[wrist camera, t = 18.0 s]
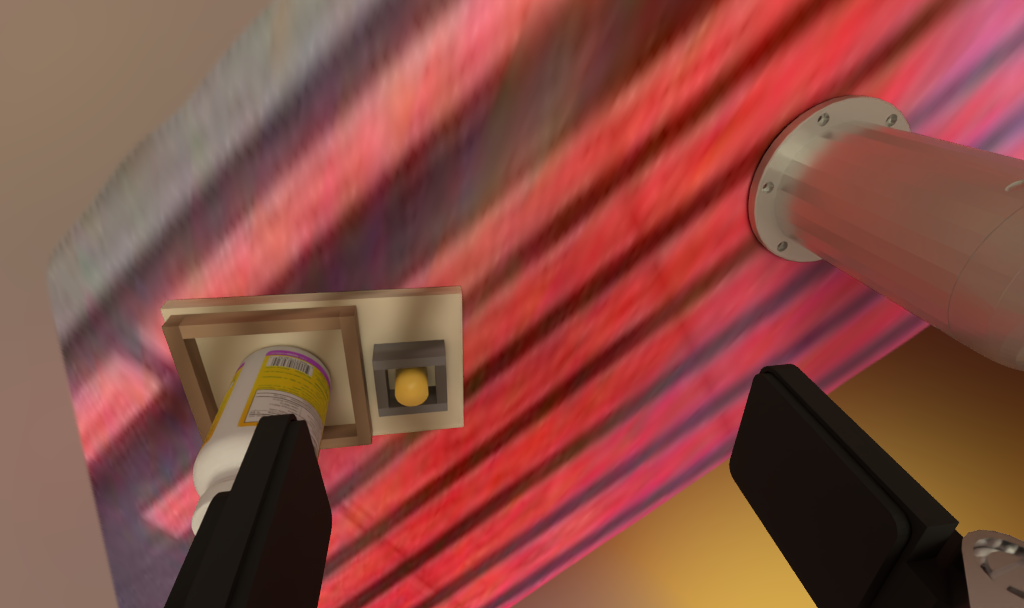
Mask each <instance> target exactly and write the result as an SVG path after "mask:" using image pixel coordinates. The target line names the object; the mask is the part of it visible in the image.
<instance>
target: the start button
mask: <svg viewBox="0 0 1024 608" xmlns="http://www.w3.org/2000/svg"><path fill="white" fill-rule="evenodd" d="M395 397H396V400H397V401H398V402H399V403H400V404H402V405H405V406H417V405H420V404H422V403H423V402H424V401H425V400H426V399H427V397H428V376H427V368H426V367H414V368H400V369H396V377H395Z"/></svg>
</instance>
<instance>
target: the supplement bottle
mask: <svg viewBox="0 0 1024 608" xmlns="http://www.w3.org/2000/svg"><path fill="white" fill-rule="evenodd" d="M330 391H331V379H330V375H329V372H328V370H327V368H326V367H325V366H324V364H323V363H322V362H321V361H320V360H319V359H318V358H316V357H315V356H314V355H312V354H311V353H309V352H307V351H305V350H302V349H299V348H295V347H290V346H272V347H267V348H263V349H261V350H258V351H256V352H254V353H252V354H251V355H249V356H248V357H247V358H246V359H245V360H244V361H243V362H242V363H241V364H240V366H239V367H238V369H237V371H236V373H235V375H234V377H233V379H232V382H231V384H230V386H229V388H228V390H227V393H226V395H225V397H224V399H223V401H222V404H221V406H220V408H219V410H218V412H217V415H216V417H215V419H214V421H213V423H212V426H211V428H210V430H209V432H208V434H207V437H206V439H205V441H204V443H203V445H202V447H201V449H200V452H199V454H198V456H197V459H196V461H195V464H194V468H193V481H194V485H195V488H196V490H197V493H198V494H199V496H200V499H199V501H198V504H197V506H196V509H195V512H194V514H193V518H192V530H193V532H194V534H195V536H196V533H197V531H198V529H199V526H200V524H201V522H202V520H203V517H204V515H205V513H206V510H207V508H208V506H209V504H210V502H211V500H212V499H213V497H214V496H215V495H216V494H217V493H219V492H224V491H230V490H231V488H232V485H233V483H234V481H235V478H236V476H237V473H238V471H239V468H240V466H241V463H242V461H243V458H244V456H245V453H246V451H247V449H248V446H249V444H250V441H251V439H252V436H253V434H254V431H255V429H256V426H257V424H258V422H259V420H260V418H261V417H263V416H272V415H282V414H294V415H295V416H296V418H297V420H305V421H306V422H307V425H308V428H309V432H310V435H311V439H312V443H313V446H314V450H315V454H316V457H317V461H318V456H319V451H320V445H321V440H322V434H323V429H324V424H325V418H326V413H327V408H328V402H329V397H330Z"/></svg>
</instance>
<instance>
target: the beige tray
mask: <svg viewBox="0 0 1024 608" xmlns="http://www.w3.org/2000/svg"><path fill="white" fill-rule="evenodd" d="M160 310H161V312H162V315H163V318H164V321H165V323H164V325H163V326H162V329H163V332H164V335H165V338H166V341H167V343H168V346H169V349H170V352H171V355H172V357H173V360H174V363H175V366H176V368H177V371H178V374H179V377H180V380H181V382H182V385H183V388H184V391H185V394H186V396H187V399H188V402H189V405H190V408H191V410H192V413H193V416H194V419H195V422H196V424H197V427H198V430H199V433H200V436H201V438H202V441H203V443H204V441H205V439H206V437H207V434H208V432H209V430H210V428H211V426H212V423H213V421H214V419H215V417H216V415H217V412H218V410H219V408H220V406H221V404H222V401H223V399H224V397H225V395H226V393H227V390H228V388H229V386H230V384H231V382H232V379H233V377H234V375H235V373H236V371H237V369H238V367H239V366H240V364H241V363H242V362H243V361H244V360H245V359H246V358H247V357H248V356H249V355H251V354H252V353H254V352H256V351H258V350H261V349H263V348H267V347H272V346H290V347H295V348H299V349H302V350H305V351H307V352H309V353H311V354H312V355H314V356H315V357H316V358H318V359H319V360H320V361H321V362H322V363H323V364H324V366H325V367H326V368H327V370H328V372H329V375H330V379H331V391H330V397H329V402H328V408H327V413H326V418H325V424H324V429H323V434H322V440H321V445H320V449H329V448H339V447H349V446H360V445H370V444H372V436H374V435H385V434H395V433H406V432H416V431H426V430H437V429H447V428H458V427H464V416H463V341H462V292H461V286H450V287H429V288H409V289H388V290H368V291H347V292H327V293H306V294H286V295H265V296H245V297H224V298H204V299H184V300H167V302H166V303H165V304H164V305H163V306H162V308H161V309H160ZM414 367H426V368H427V376H428V397H427V399H426V400H425V401H424V402H423V403H422V404H420V405H417V406H405V405H402V404H400V403H399V402H398V401H397V400H396V397H395V377H396V369H400V368H414Z"/></svg>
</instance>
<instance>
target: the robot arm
mask: <svg viewBox="0 0 1024 608" xmlns="http://www.w3.org/2000/svg"><path fill="white" fill-rule="evenodd" d="M748 208H749V219H750V223H751V227H752V230H753V232H754V234H755V236H756V237H757V239H758V241H759V242H760V243H761V244H762V245H763V246H764V247H765V248H766V249H768V250H769V251H771V252H772V253H773V254H775V255H777V256H779V257H781V258H783V259H786V260H789V261H795V262H814V261H818V260H825V261H827V262H828V263H830V264H832V265H833V266H835V267H837V268H838V269H840V270H842V271H843V272H845V273H847V274H848V275H850V276H852V277H853V278H855V279H857V280H858V281H860V282H861V283H863V284H865V285H866V286H868V287H870V288H871V289H873V290H875V291H876V292H878V293H880V294H881V295H883V296H885V297H886V298H888V299H890V300H891V301H893V302H894V303H896V304H898V305H899V306H901V307H903V308H904V309H906V310H908V311H909V312H911V313H913V314H914V315H916V316H918V317H919V318H921V319H923V320H924V321H926V322H927V323H929V324H931V325H933V326H934V327H936V328H937V329H939V330H941V331H943V332H944V333H946V334H947V335H949V336H951V337H952V338H954V339H956V340H957V341H959V342H960V343H962V344H964V345H966V346H968V347H969V348H971V349H973V350H974V351H976V352H978V353H980V354H981V355H983V356H985V357H987V358H989V359H991V360H993V361H995V362H997V363H999V364H1002V365H1005V366H1007V367H1010V368H1014V369H1018V370H1022V371H1024V160H1021V159H1017V158H1013V157H1009V156H1005V155H1000V154H996V153H992V152H988V151H984V150H980V149H976V148H972V147H968V146H964V145H960V144H956V143H952V142H948V141H944V140H940V139H936V138H932V137H928V136H924V135H920V134H916V133H912V132H911V131H910V127H909V124H908V122H907V120H906V119H905V117H904V116H903V114H902V113H901V112H900V111H899V110H898V109H897V108H896V107H895V106H893V105H892V104H891V103H888V102H886V101H884V100H881V99H879V98H874V97H869V96H864V95H848V96H843V97H838V98H833V99H831V100H828V101H826V102H823V103H821V104H818V105H816V106H815V107H813V108H811V109H810V110H808V111H806V112H805V113H803V114H801V115H800V116H799V117H798V118H797V119H795V120H794V121H793V122H792V123H791V124H789V125H788V126H787V127H786V128H785V129H784V130H783V131H782V133H781V134H780V135H779V136H778V137H777V138H776V139H775V140H774V142H773V143H772V144H771V146H770V147H769V149H768V150H767V152H766V153H765V155H764V156H763V158H762V160H761V162H760V164H759V166H758V168H757V170H756V172H755V176H754V179H753V182H752V185H751V188H750V195H749V202H748ZM729 466H730V472H731V475H732V477H733V479H734V481H735V482H736V484H737V485H738V487H739V488H740V490H741V491H742V493H743V495H744V496H745V498H746V499H747V501H748V502H749V504H750V505H751V507H752V508H753V510H754V511H755V513H756V514H757V516H758V517H759V519H760V520H761V522H762V523H763V525H764V527H765V528H766V530H767V531H768V533H769V534H770V536H771V537H772V539H773V540H774V542H775V543H776V545H777V546H778V548H779V549H780V551H781V552H782V554H783V555H784V557H785V559H786V560H787V561H788V563H789V565H790V566H791V568H792V569H793V571H794V572H795V574H796V575H797V577H798V578H799V580H800V581H801V583H802V584H803V586H804V588H805V589H806V590H807V592H808V593H809V595H810V597H811V598H812V600H813V601H814V603H815V604H816V606H817V607H818V608H1024V541H1021V540H1019V539H1017V538H1014V537H1012V536H1010V535H1006V534H1003V533H999V532H996V531H987V530H977V531H973V532H969V533H968V534H967V535H966V536H965V537H964V538H963V537H962V536H961V535H960V534H959V533H958V532H957V531H956V530H955V528H956V527H957V525H958V523H959V522H958V521H957V520H956V519H955V518H954V517H953V516H952V515H951V514H950V513H949V512H948V511H947V510H946V509H945V508H944V507H943V506H942V505H940V503H938V502H937V501H936V500H935V499H934V498H933V497H932V496H931V495H930V494H929V493H928V492H927V491H926V490H925V489H924V488H923V487H922V486H921V485H920V484H919V483H918V482H917V481H916V480H914V479H913V478H912V477H911V476H910V475H909V474H908V473H907V472H906V471H905V470H904V469H903V468H902V467H901V466H900V465H899V464H898V463H896V461H895V460H894V459H893V458H892V457H891V456H890V455H888V454H887V453H886V452H885V451H884V450H883V449H882V448H881V447H880V446H879V445H878V444H877V443H876V442H875V441H874V440H873V439H872V438H871V437H870V436H869V435H868V434H867V433H866V432H865V431H863V430H862V429H861V428H860V427H859V426H858V425H857V424H856V423H855V422H854V421H853V420H852V419H851V418H850V417H849V416H848V415H847V414H846V413H845V412H844V411H843V410H841V408H840V407H838V406H837V405H836V404H835V403H834V402H833V401H832V400H831V399H830V398H829V397H828V396H827V395H826V394H825V393H824V392H823V391H822V390H821V389H820V388H819V387H818V386H817V385H816V384H815V383H813V382H812V381H811V380H810V379H809V378H808V377H807V376H806V375H805V374H804V373H803V372H802V371H801V370H800V369H799V368H798V367H796V366H795V365H792V364H785V365H775V366H766V367H764V368H762V369H761V371H760V373H759V374H757V375H756V376H755V377H754V379H753V382H752V386H751V389H750V393H749V396H748V399H747V403H746V406H745V410H744V413H743V417H742V420H741V424H740V427H739V431H738V434H737V438H736V441H735V444H734V448H733V451H732V455H731V458H730V463H729ZM331 528H332V513H331V508H330V505H329V501H328V498H327V494H326V490H325V487H324V483H323V479H322V476H321V472H320V468H319V465H318V461H317V457H316V454H315V450H314V446H313V443H312V439H311V435H310V432H309V428H308V425H307V422H306V421H305V420H297V418H296V416H295V415H294V414H282V415H272V416H263V417H261V418H260V420H259V422H258V424H257V426H256V429H255V431H254V434H253V436H252V439H251V441H250V444H249V446H248V449H247V451H246V453H245V456H244V458H243V461H242V463H241V466H240V468H239V471H238V473H237V476H236V478H235V481H234V483H233V485H232V488H231V490H230V491H224V492H219V493H217V494H216V495H215V496H214V497H213V499H212V500H211V502H210V504H209V506H208V508H207V510H206V513H205V515H204V517H203V520H202V522H201V524H200V526H199V529H198V531H197V533H196V536H195V538H194V540H193V542H192V545H191V547H190V549H189V552H188V554H187V556H186V558H185V561H184V563H183V565H182V568H181V570H180V572H179V574H178V577H177V579H176V581H175V584H174V586H173V588H172V590H171V593H170V595H169V597H168V600H167V602H166V604H165V606H164V608H317V606H318V601H319V595H320V590H321V584H322V579H323V573H324V568H325V562H326V557H327V551H328V546H329V540H330V535H331Z"/></svg>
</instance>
